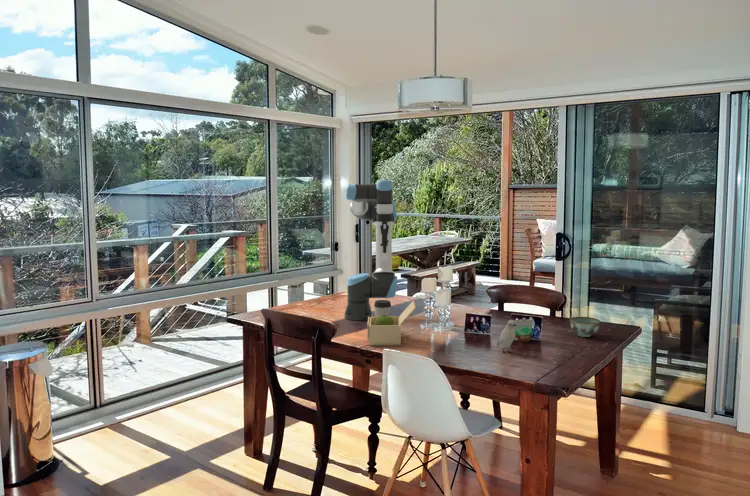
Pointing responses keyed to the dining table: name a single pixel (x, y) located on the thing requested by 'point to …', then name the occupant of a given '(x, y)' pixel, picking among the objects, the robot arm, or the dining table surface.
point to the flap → (407, 312)
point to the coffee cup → (382, 307)
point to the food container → (523, 330)
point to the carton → (384, 333)
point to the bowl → (584, 326)
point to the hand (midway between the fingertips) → (384, 258)
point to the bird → (507, 335)
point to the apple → (384, 320)
